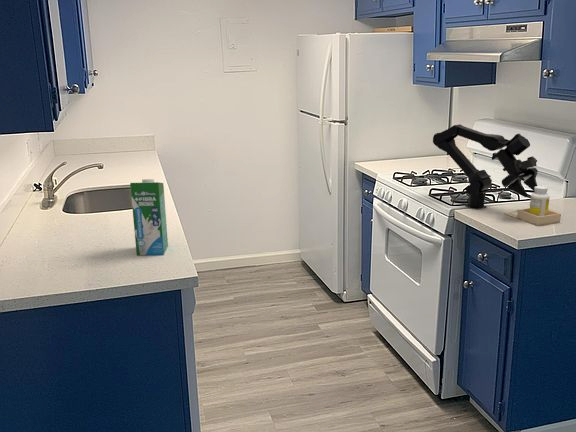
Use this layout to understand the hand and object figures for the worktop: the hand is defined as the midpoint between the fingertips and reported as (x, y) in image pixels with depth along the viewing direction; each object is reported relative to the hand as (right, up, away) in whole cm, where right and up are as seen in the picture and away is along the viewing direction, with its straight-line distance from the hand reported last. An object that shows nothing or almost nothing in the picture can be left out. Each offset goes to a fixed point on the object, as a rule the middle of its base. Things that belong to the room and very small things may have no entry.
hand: (532, 194), depth 228 cm
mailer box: (+1, -9, +4) cm, 10 cm away
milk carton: (-142, -21, -28) cm, 146 cm away
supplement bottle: (+2, -10, 0) cm, 10 cm away
